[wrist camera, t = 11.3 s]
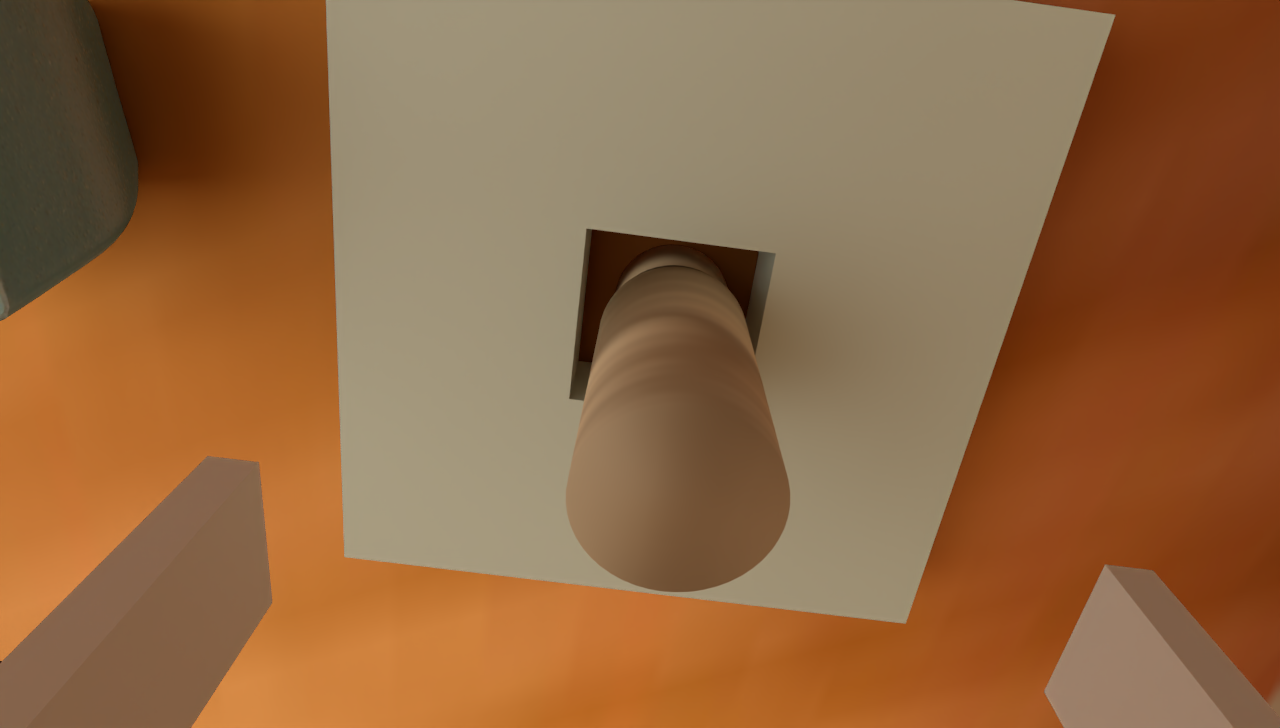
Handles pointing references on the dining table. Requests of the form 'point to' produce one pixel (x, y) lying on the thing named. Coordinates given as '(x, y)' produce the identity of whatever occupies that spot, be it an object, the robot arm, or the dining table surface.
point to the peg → (676, 433)
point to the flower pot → (58, 147)
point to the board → (693, 212)
